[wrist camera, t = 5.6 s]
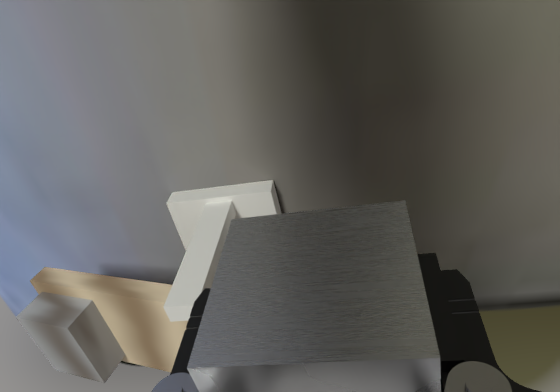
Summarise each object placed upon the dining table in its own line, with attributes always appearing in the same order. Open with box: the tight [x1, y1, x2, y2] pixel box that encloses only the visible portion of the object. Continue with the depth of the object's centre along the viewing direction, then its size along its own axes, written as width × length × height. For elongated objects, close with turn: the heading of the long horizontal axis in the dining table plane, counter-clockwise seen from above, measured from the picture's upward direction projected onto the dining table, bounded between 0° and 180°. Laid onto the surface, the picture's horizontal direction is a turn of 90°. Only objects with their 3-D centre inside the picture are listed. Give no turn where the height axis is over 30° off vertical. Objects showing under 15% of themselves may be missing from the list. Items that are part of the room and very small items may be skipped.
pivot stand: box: [164, 180, 282, 322], centre depth 33 cm, size 8×13×12 cm, turn 12°
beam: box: [16, 267, 188, 383], centre depth 29 cm, size 29×9×4 cm, turn 102°
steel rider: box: [187, 200, 441, 392], centre depth 12 cm, size 5×5×5 cm
